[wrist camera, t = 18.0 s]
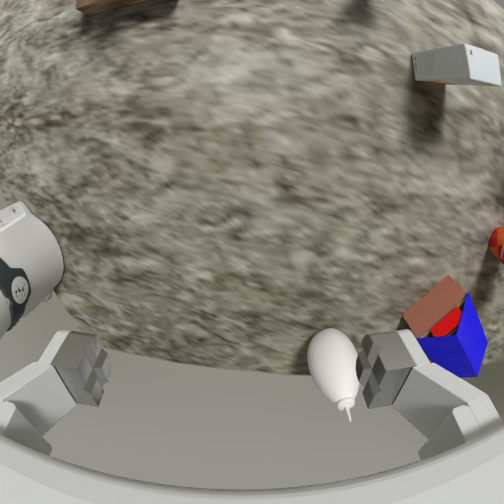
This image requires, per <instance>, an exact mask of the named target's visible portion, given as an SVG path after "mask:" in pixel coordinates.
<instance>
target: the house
mask: <svg viewBox="0 0 504 504" xmlns="http://www.w3.org/2000/svg"><path fill="white" fill-rule="evenodd" d="M460 303H461V304H460ZM459 304H460V305H459ZM461 305H462V306H461ZM459 306H461V307H460V308H458V307H459ZM461 308H463V309H462V310H461V311H460V309H461ZM462 311H463V312H462ZM402 316H403V317H404V319H405V320H406V322H407V324H408V325H409V327H410V328H411V330H412V332H413V333H414V335H415V336H416V340H417V341H418V343H419V345H420V346H421V347H422V349H423V350H424V351H425V352H426V354H427V355H428V356H429V358H430V359H431V360H432V361H433V363H436V364H437V365H439V366H441V367H442V368H444V369H446V370H447V371H449V372H451V373H452V374H454V375H456V376H457V377H459V378H460V377H477V376H478V373H479V370H480V367H481V364H482V360H483V357H484V353H485V350H486V346H487V339H486V337H485V334H484V331H483V328H482V326H481V323H480V320H479V318H478V315H477V313H476V310H475V308H474V305H473V303H472V300H471V298H470V296H469V293H467V294H466V293H465V292H464V291H463V290H462V288H461V287H460V286H459V285H458V284H457V283H456V282H455V281H454V280H453V279H452V278H451V277H450V276H449V275H447V276H446V277H445V278H444V279H443V280H442V281H441V282H440V283H439V284H438V285H436V286H435V287H434V288H433V289H432V290H431V291H430V292H429V293H428V294H426V295H425V296H424V297H423V298H422V299H421V300H419V301H418V302H417V303H416V304H415V305H414V306H412V307H411V308H410V309H409V310H408V311H406V312H405V313H404V314H403V315H402ZM459 323H460V324H459ZM458 324H459V325H458ZM457 325H458V326H457ZM456 326H457V327H456ZM455 327H456V328H455ZM454 328H455V329H454ZM457 328H458V329H457ZM452 329H454V330H452ZM456 329H457V330H456ZM451 330H452V331H451ZM455 330H456V331H455ZM428 331H429V332H428ZM450 331H451V332H450ZM454 331H455V332H454ZM430 332H431V333H430ZM449 332H450V333H449ZM428 333H430V334H429V335H428V336H427V337H425V336H426V335H427V334H428ZM448 333H449V334H448ZM455 333H456V334H455ZM431 334H433V335H432V336H431V337H429V336H430V335H431ZM447 334H448V335H447ZM450 334H451V335H450ZM423 335H424V336H423ZM445 335H447V336H445ZM449 335H450V336H449ZM422 336H423V337H425V338H423V337H422ZM433 336H434V337H433Z"/></svg>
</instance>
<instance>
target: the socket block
mask: <svg viewBox="0 0 504 504" xmlns="http://www.w3.org/2000/svg"><path fill="white" fill-rule="evenodd" d="M145 1H151V0H77V3H76V9H77V10H79V11H81V12H83V13H85V14H87V15H89V16H90V15H93V14H96V13H100V12H103V11H107V10H111V9H114V8H118V7H122V6H127V5H131V4H136V3H140V2H145Z"/></svg>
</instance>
